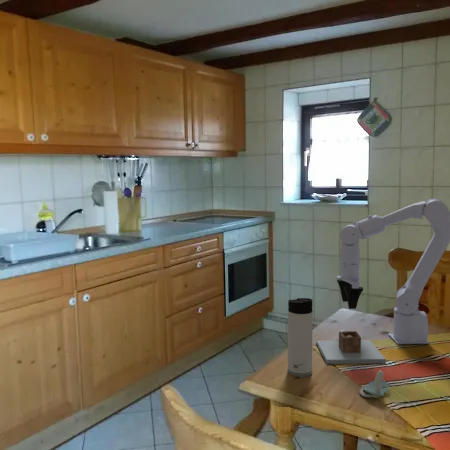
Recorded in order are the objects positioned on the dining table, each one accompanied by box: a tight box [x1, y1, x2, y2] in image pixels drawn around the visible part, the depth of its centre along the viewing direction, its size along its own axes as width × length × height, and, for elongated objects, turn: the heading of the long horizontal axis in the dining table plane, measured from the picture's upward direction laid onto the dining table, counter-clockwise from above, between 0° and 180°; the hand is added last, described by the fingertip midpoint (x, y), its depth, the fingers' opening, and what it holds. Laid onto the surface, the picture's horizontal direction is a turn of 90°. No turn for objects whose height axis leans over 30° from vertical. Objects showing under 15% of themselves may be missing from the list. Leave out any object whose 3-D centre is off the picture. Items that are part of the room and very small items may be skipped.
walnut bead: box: [338, 330, 362, 353], centre depth 133 cm, size 5×5×4 cm
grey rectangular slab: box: [316, 335, 387, 365], centre depth 133 cm, size 16×14×5 cm
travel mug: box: [287, 297, 314, 378], centre depth 120 cm, size 6×7×20 cm
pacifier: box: [359, 369, 390, 399], centre depth 109 cm, size 7×6×6 cm
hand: (349, 304), depth 148 cm, fingers open, 7 cm apart
